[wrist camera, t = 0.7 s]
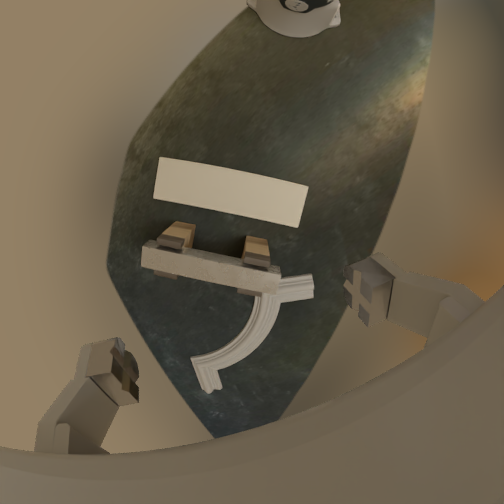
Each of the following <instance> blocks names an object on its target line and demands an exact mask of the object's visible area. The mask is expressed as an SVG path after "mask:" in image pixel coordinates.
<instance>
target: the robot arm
mask: <svg viewBox="0 0 504 504" xmlns="http://www.w3.org/2000/svg"><path fill="white" fill-rule="evenodd" d="M247 5H248V6H249V7H250V8H252V9H253V10H255V11H256V12H257V14H258V15H259V17H260V19H261V20H262V22H263V23H264V24H265V25H266V26H267V27H269V28H270V29H272V30H273V31H275V32H277V33H279V34H282V35H285V36H290V37H310V36H313V35H316V34H318V33H320V32H321V31H323V30H325V29H327V28H332V27H337V26H339V25H340V22H341V20H340V10H339V8H340V3H339V0H247ZM334 17H336V18H334ZM344 277H345V278H346V279H347V280H346V282H345V284H344V285H343V289H344V296H345V299H346V301H347V303H348V305H349V306H350V307H351V308H352V309H354V310H357V311H359V313H358V316H359V318H360V319H361V320H362V321H363V322H364V324H365V325H366V326H367V327H371V326H373V325H375V324H377V323H379V322H381V321H384V320H386V319H387V320H388V321H390V322H392V323H395V324H397V325H399V326H402V327H404V328H406V329H409V330H411V331H413V332H416V333H418V334H420V335H422V336H425V337H427V338H428V339H427V341H426V344H425V347H424V349H423V350H421V351H420V352H418V353H417V354H415V355H414V356H412V357H410V358H409V359H407V360H405V361H404V362H402V363H400V364H399V365H397V366H396V367H394V368H392V369H390V370H389V371H387V372H385V373H383V374H381V375H380V376H378V377H376V378H374V379H372V380H370V381H368V382H366V383H365V384H363V385H361V386H359V387H357V388H355V389H353V390H351V391H349V392H346V393H344V394H342V395H340V396H338V397H336V398H334V399H331V400H329V401H327V402H324V403H322V404H320V405H317V406H315V407H313V408H310V409H308V410H305V411H303V412H300V413H297V414H295V415H292V416H289V417H287V418H284V419H281V420H278V421H275V422H272V423H269V424H266V425H263V426H260V427H257V428H254V429H250V430H247V431H243V432H240V433H236V434H232V435H229V436H225V437H221V438H217V439H213V440H208V441H203V442H199V443H194V444H189V445H183V446H178V447H172V448H165V449H158V450H150V451H141V452H131V453H118V454H110V453H109V452H107V451H106V450H104V449H102V448H101V447H100V446H101V444H102V442H103V440H104V437H105V435H106V433H107V431H108V429H109V427H110V425H111V423H112V421H113V419H114V417H115V415H116V413H117V411H118V409H119V406H124V405H129V404H134V403H139V387H138V386H137V385H136V384H135V382H136V381H137V379H138V378H139V370H138V366H137V362H136V360H135V358H134V357H133V355H132V354H131V353H130V352H128V351H126V350H125V344H124V342H123V341H122V340H121V338H118V337H116V338H112V339H107V340H103V341H99V342H94V343H90V344H85V345H83V346H82V347H81V350H80V354H79V359H78V363H77V367H76V372H75V377H74V380H70V382H69V383H68V384H67V386H66V387H65V388H64V390H63V391H62V392H61V393H60V395H59V396H58V397H57V398H56V400H55V401H54V403H53V404H52V405H51V406H50V408H49V409H48V410H47V412H46V413H45V415H44V416H43V417H42V419H41V420H40V421H39V423H38V428H37V435H36V442H35V449H34V452H33V451H25V450H18V449H11V448H6V447H0V504H504V285H503V286H502V287H501V288H500V289H499V290H498V291H497V292H496V293H495V294H494V295H493V296H492V297H490V298H489V299H488V300H487V301H486V302H484V301H483V300H482V299H481V298H480V297H478V296H477V295H476V294H475V293H474V292H472V291H471V290H470V289H469V288H467V287H466V286H465V285H463V284H459V283H455V282H451V281H447V280H443V279H439V278H434V277H430V276H426V275H422V274H418V273H414V272H409V273H406V272H405V271H404V270H403V269H402V268H400V267H399V266H398V265H397V264H395V263H394V262H393V261H391V260H390V259H389V258H388V257H386V256H385V255H384V254H383V253H379V252H378V253H376V254H373V255H371V256H368V257H367V258H364V259H362V260H359V261H356V262H354V263H351V264H349V265H346V266H345V267H344Z"/></svg>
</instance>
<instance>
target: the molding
mask: <svg viewBox="0 0 504 504" xmlns="http://www.w3.org/2000/svg"><path fill="white" fill-rule="evenodd" d="M313 289H314V283H313V279H312V274H304V275H297V276H290V277H283V278H280V282H279V285H278V289H277V292H276V295H273V294H268V293H263V292H262V296H261V297H257V296H255V301H254V306H253V310H252V313H251V315H250V317H249V320H248V321H247V323H246V325H245V326H244V328H243V329H242V331H241V332H240V333H239V334H238V335H237V336H236V337H235V338H234V339H233V340H232V341H231V342H229V343H228V344H226V345H225V346H223V347H222V348H220V349H218V350H215V351H213V352H210V353H207V354H204V355H199V356H192V357H191V361H192V364H193V367H194V369H195V372H196V375H197V377H198V380H199V382H200V385H201V387H202V390H205V391H206V393H211V392H212V391H213V389H218V390H220V389H221V388H222V384H221V380H220V377H219V374H218V371H217V370H219V369H222V368H225V367H227V366H230V365H232V364H234V363H236V362H238V361H240V360H241V359H243V358H244V357H246V356H247V355H249V354H250V353H251V352H252V351H254V350H255V349H256V348H257V347H258V346H259V345H260V344H261V343H262V341H263V340H264V339H265V338H266V336H267V335H268V333H269V332H270V330H271V328H272V326H273V324H274V322H275V320H276V317H277V315H278V311H279V308H280V303H282V302H289V301H296V300H303V299H309V298H313Z"/></svg>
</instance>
